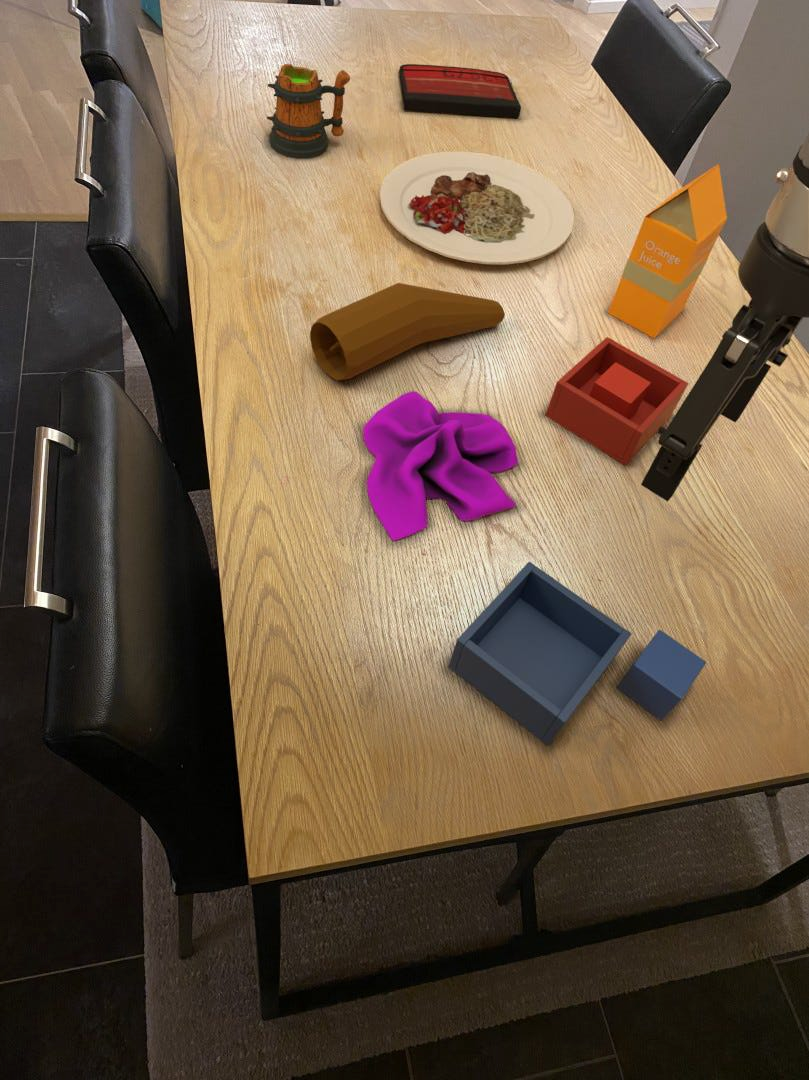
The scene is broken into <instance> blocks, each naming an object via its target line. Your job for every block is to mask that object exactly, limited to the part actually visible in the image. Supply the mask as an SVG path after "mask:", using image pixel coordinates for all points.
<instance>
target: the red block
mask: <svg viewBox="0 0 809 1080" xmlns="http://www.w3.org/2000/svg"><path fill="white" fill-rule="evenodd" d="M650 384H651V382H649V381H647V380H646V379H644V378H642V377H640V376H639V375H637V374H635V373H633V372H632V371H630V370H628V369H627V368H625V367H623V366H621V365H620V364H618V363H616V362H615V363H614V364H613V365H612V366H611V367H610V368H609V369H608V370H607V371H606V372H605V373H604V374H603V375H602V376H601V377H599V378H598V379H597V380H596V381H595V382H594V385H593V387H592V390H591V392H590V395H589V396H590V397H592V398H594V399H595V400H597V401H599V402H600V403H602V404H604V405H605V406H607V407H609V408H610V409H612V410H613V411H615V412H617V413H618V414H620V415H622V416H623V417H625V418H627V419H628V420H630V419H631V418H632V417H633V416H634V415H635V414H636V413H637V411H638V409H639V407H640V405H641V403H642V401H643V399H644V397H645V394H646V392H647V390H648V388H649V386H650Z"/></svg>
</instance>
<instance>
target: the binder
mask: <svg viewBox="0 0 809 1080" xmlns="http://www.w3.org/2000/svg"><path fill="white" fill-rule="evenodd" d="M398 75H399V77H398V78H399V82H400V90H401V91H400V92H401V98H402V99H401V100H402V107H403V111H407V112H409V111H410V112H420V113H421V112H422V113H434V114H447V115H463V116H465V115H466V116H477V117H478V116H479V117H492V118H493V117H494V118H506V119H508V118H509V119H519V118H520V116H521V115H520V114H521V112H522V111H521V110H522V105H521V104H520V101H519V99H518V97H517V94H516V93H515V91H514V88H513V85H512V83H511V80H510V79H509V77H508V75H507V74H505V73H503V72H499V71H494V70H493V71H492V70H487V69H481V68H480V69H479V68H471V67H463V66H462V67H460V66H449V65H448V66H447V65H446V66H445V65H434V64H418V63H417V64H416V63H407V64H402V65H400V66H399V69H398Z"/></svg>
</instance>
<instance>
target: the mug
mask: <svg viewBox="0 0 809 1080" xmlns="http://www.w3.org/2000/svg"><path fill="white" fill-rule="evenodd" d="M274 77H275V78H276V80H275V81H274V83H267V87H268V88H271V89H272V90H274V93H273V96H274V97H276V102H275V107H274V110H275V112H274V113H273V114H272V116H267V117H266V120H268V121H271V122H272V124H273V125H272V127H271V131H270V133H269V135H268V136H269V145H270V147H271V148H272V150H273V151H275V152H276V153H278V154H280V155H282V156H285V157H287V158H291V159H292V158H294V159H297V160H299V159H312V158H317V157H319V156H321V155H323V154H325V153H326V152H327V150H328V148H329V145H330V143H329V142H330V141H329V137H328V134H327V131H326V128H325V127H328V126H331V131H330V132H331V134H332V136H333V137H335V138H336V137H341V136H343V135H344V133H345V130H344V128H343V126H342V125H343V122H344V121H343V117H342V114H343V109H344V95H345V93H346V91H345V90H346V87H345V86H346V85H347V84H348V83H349V82H350V81H351V77H350V74H349V73H348V72H347V71H346V70H343V69H342V70H340V71H338V73H337V74H336V77H335V82H334V85H333V86H332V85H328V84H327V85H326V84H325V85H322V84H321V83H322V82H323V81H324V80H323V78H322V79H319V75H318V71H317V69H310V68H307V67H303V66H294V65H293V64H292V63H284V64H283V65H282V66H281V67H280V69H279V72H278V75H275V76H274ZM323 94H333V95H334V98H333V99H334V101H333V110H332V116H331V118H324V115H323V114H325V111H324V110H322V103H321V101H322V100H323V98H322V96H323Z"/></svg>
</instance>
